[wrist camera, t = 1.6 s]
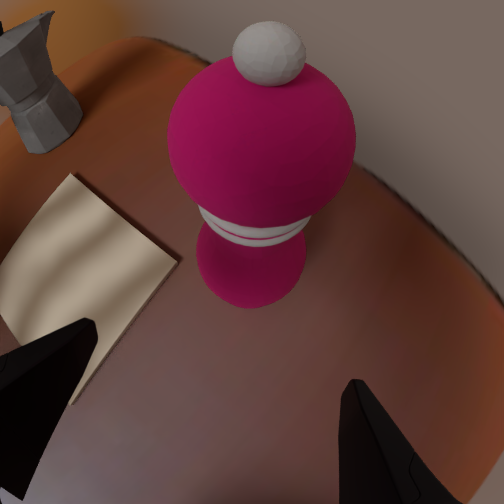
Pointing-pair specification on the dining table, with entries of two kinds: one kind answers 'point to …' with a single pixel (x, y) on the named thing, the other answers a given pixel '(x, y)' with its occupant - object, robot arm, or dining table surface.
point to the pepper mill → (259, 160)
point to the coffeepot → (35, 87)
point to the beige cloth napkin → (79, 272)
